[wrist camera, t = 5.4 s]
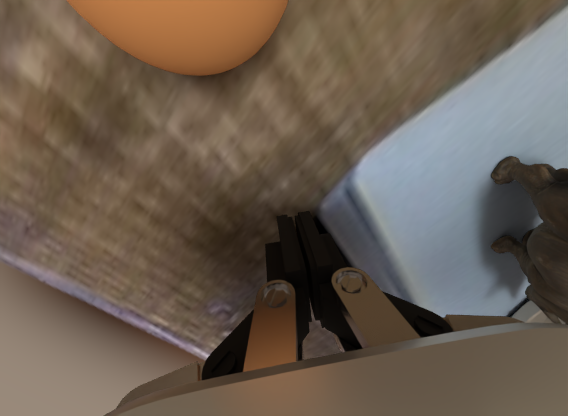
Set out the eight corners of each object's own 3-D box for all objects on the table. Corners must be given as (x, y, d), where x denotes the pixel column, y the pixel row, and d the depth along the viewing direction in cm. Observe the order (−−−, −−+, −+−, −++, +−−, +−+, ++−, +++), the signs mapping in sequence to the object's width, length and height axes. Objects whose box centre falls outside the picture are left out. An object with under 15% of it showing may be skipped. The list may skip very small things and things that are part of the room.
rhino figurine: (489, 305, 19) (579, 387, 14) (479, 167, 13) (637, 222, 7) (539, 285, 18) (653, 363, 13) (553, 132, 12) (781, 162, 7)
